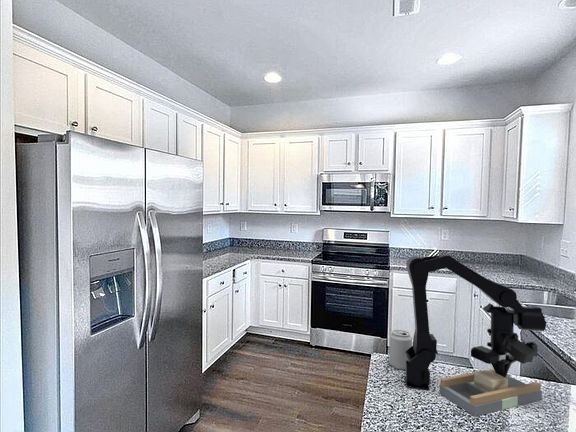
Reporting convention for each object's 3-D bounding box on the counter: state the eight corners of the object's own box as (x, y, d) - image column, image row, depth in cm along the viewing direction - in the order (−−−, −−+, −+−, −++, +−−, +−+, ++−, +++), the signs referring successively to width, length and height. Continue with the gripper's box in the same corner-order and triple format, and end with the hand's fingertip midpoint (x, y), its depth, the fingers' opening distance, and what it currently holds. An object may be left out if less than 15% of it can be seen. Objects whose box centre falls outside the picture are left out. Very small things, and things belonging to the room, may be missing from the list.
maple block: (492, 394, 92) (492, 382, 92) (474, 384, 98) (474, 372, 98) (507, 391, 94) (508, 378, 94) (488, 381, 100) (489, 369, 100)
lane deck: (474, 416, 86) (475, 399, 86) (439, 393, 97) (439, 378, 97) (541, 399, 95) (541, 384, 95) (502, 380, 106) (502, 366, 106)
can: (413, 372, 111) (414, 336, 111) (390, 369, 112) (390, 334, 112) (409, 362, 118) (410, 329, 118) (388, 360, 120) (388, 327, 120)
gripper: (505, 340, 87) (505, 399, 87) (552, 333, 93) (552, 388, 93) (469, 327, 98) (469, 380, 97) (513, 321, 104) (513, 371, 104)
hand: (501, 380), depth 98 cm, fingers closed
